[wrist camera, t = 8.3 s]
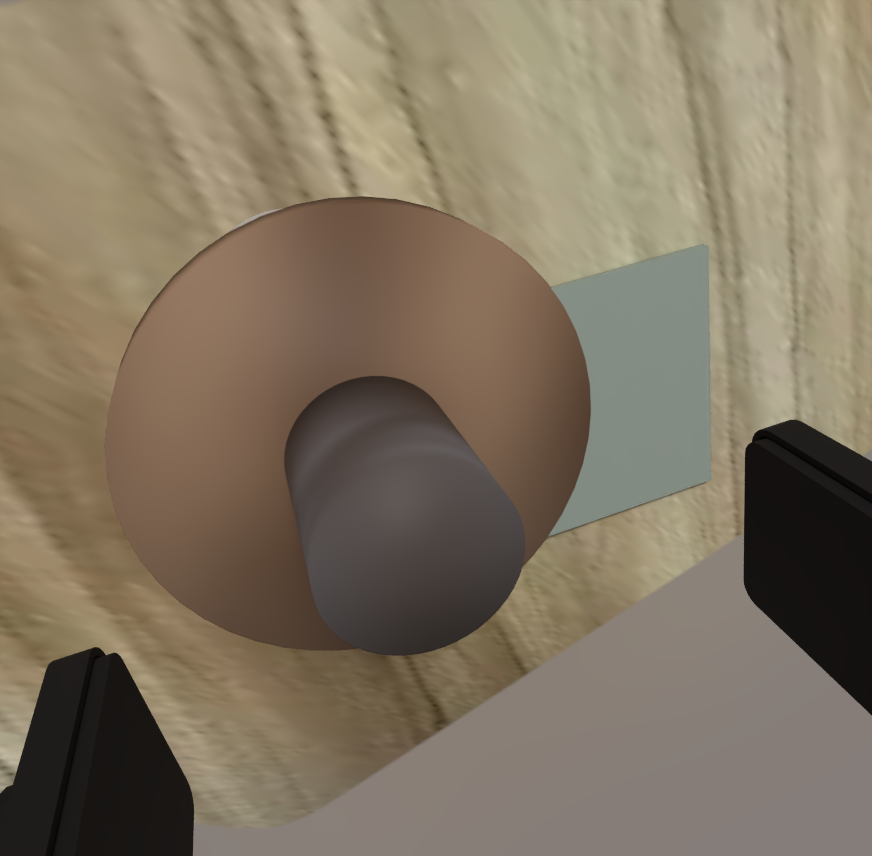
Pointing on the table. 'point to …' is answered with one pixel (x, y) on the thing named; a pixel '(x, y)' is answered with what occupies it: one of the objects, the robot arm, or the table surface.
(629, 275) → the mat
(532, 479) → the lid
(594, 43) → the table surface
